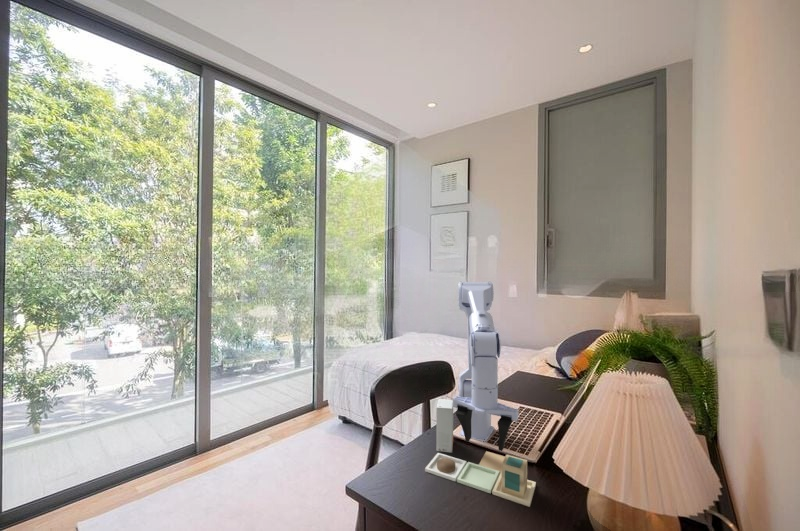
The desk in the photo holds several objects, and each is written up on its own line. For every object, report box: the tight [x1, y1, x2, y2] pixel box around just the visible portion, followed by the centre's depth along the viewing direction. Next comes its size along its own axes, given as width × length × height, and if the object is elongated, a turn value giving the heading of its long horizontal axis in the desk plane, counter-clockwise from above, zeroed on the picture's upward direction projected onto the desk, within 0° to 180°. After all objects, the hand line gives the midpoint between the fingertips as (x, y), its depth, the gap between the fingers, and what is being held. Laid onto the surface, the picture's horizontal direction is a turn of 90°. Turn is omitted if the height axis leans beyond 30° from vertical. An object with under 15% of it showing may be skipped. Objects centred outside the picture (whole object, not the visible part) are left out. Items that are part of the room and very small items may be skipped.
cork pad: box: [478, 450, 506, 474], centre depth 85 cm, size 7×7×1 cm
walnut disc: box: [437, 458, 455, 473], centre depth 83 cm, size 4×4×1 cm
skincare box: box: [435, 398, 454, 453], centre depth 93 cm, size 6×4×12 cm
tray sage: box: [456, 461, 500, 494], centre depth 79 cm, size 8×8×1 cm
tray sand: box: [491, 472, 537, 508], centre depth 75 cm, size 8×8×1 cm
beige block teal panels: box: [501, 454, 528, 499], centre depth 75 cm, size 5×4×6 cm
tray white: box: [424, 452, 468, 482], centre depth 83 cm, size 8×8×1 cm
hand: (484, 444), depth 78 cm, fingers open, 7 cm apart
